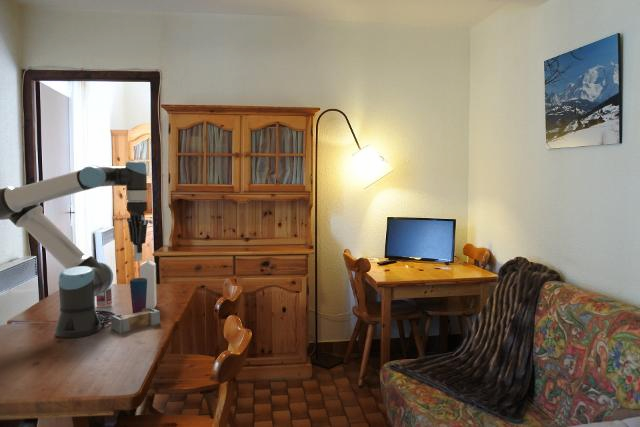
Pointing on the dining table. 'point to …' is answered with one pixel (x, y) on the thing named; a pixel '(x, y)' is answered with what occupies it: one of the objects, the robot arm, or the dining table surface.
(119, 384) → the dining table surface
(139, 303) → the cup
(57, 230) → the robot arm
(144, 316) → the slat
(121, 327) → the grey u-shaped bracket
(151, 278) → the milk
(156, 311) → the endcap far
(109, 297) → the pill bottle
